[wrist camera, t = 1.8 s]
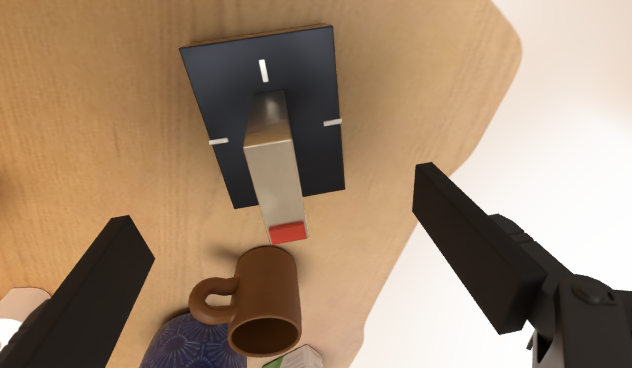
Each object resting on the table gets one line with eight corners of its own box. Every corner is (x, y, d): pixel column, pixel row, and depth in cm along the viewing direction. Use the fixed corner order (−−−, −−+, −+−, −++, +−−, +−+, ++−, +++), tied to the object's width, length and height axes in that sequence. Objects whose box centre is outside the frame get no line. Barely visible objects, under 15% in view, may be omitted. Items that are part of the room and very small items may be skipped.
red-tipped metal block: (252, 94, 20) (242, 149, 12) (283, 89, 20) (292, 140, 12) (270, 167, 23) (270, 248, 16) (296, 163, 23) (309, 240, 16)
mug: (190, 265, 32) (167, 342, 25) (217, 222, 29) (200, 293, 22) (277, 292, 36) (279, 364, 29) (307, 256, 34) (317, 325, 26)
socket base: (187, 43, 21) (175, 48, 18) (326, 22, 21) (335, 25, 18) (236, 191, 28) (232, 210, 25) (339, 173, 28) (346, 190, 25)
